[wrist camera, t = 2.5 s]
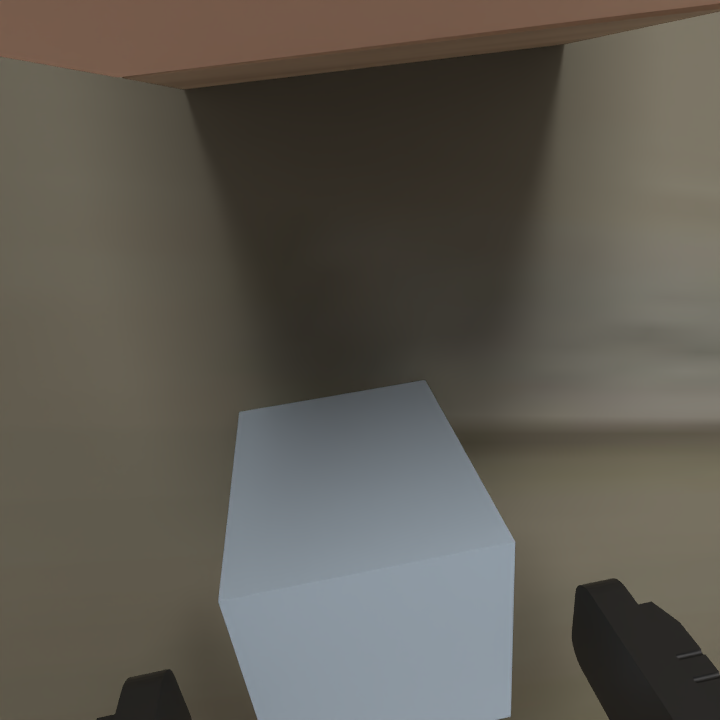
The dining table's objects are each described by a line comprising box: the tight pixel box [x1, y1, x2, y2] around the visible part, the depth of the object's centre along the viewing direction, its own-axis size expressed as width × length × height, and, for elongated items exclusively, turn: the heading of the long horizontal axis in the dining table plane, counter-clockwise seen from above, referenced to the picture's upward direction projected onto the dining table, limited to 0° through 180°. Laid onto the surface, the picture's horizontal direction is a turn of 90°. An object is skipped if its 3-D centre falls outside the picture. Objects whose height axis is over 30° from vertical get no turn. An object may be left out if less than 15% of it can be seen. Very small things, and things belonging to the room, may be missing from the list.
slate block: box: [218, 380, 515, 720], centre depth 13 cm, size 5×5×6 cm
